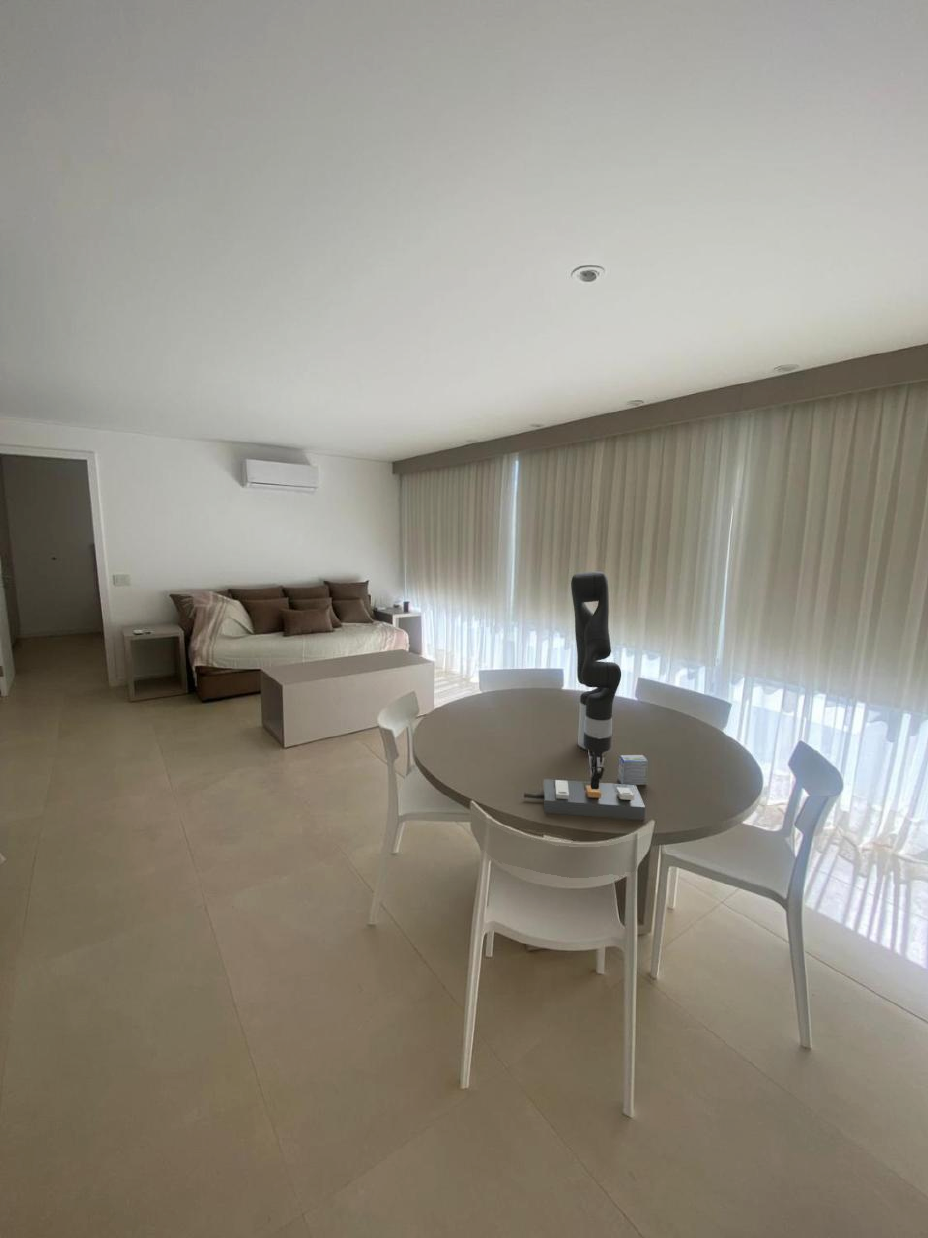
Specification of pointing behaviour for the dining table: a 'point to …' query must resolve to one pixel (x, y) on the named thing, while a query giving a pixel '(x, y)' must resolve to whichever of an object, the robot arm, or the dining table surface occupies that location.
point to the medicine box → (633, 769)
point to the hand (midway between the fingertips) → (594, 788)
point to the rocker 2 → (593, 792)
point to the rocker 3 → (625, 793)
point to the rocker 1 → (562, 789)
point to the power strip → (592, 801)
